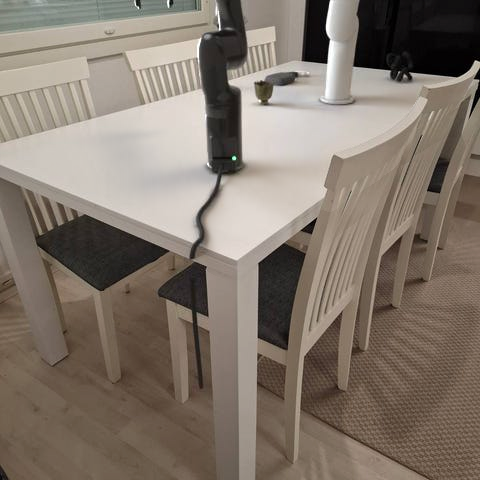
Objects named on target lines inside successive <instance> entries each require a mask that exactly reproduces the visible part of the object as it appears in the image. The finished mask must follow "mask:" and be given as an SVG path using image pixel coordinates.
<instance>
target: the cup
mask: <svg viewBox="0 0 480 480" xmlns="http://www.w3.org/2000/svg"><path fill="white" fill-rule="evenodd" d="M274 86H275V85H274V83H273V81H272V82H271V81H269V83H268V82H267V83H266V80H265V79H264V80H257V81H254V82H253V87H254V94H255V98H256V99H257V100H258V104H259V105H262V106H264V105H268V104H269V102H270V101H269V100H270V99H272V97H273V93H274Z"/></svg>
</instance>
